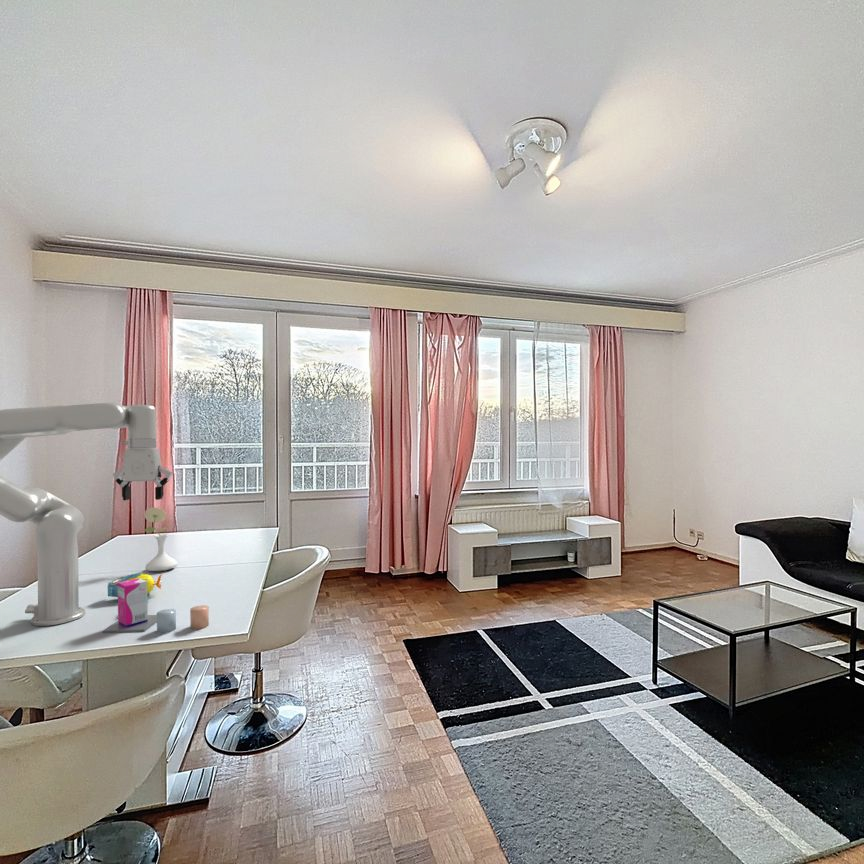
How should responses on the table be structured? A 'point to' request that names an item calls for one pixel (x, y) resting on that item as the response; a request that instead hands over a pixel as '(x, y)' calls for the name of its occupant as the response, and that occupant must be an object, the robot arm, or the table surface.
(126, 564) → the table surface
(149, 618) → the coaster
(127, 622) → the supplement box
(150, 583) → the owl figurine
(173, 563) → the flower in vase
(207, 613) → the peach dome cap
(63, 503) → the robot arm
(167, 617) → the pale blue dome knob
